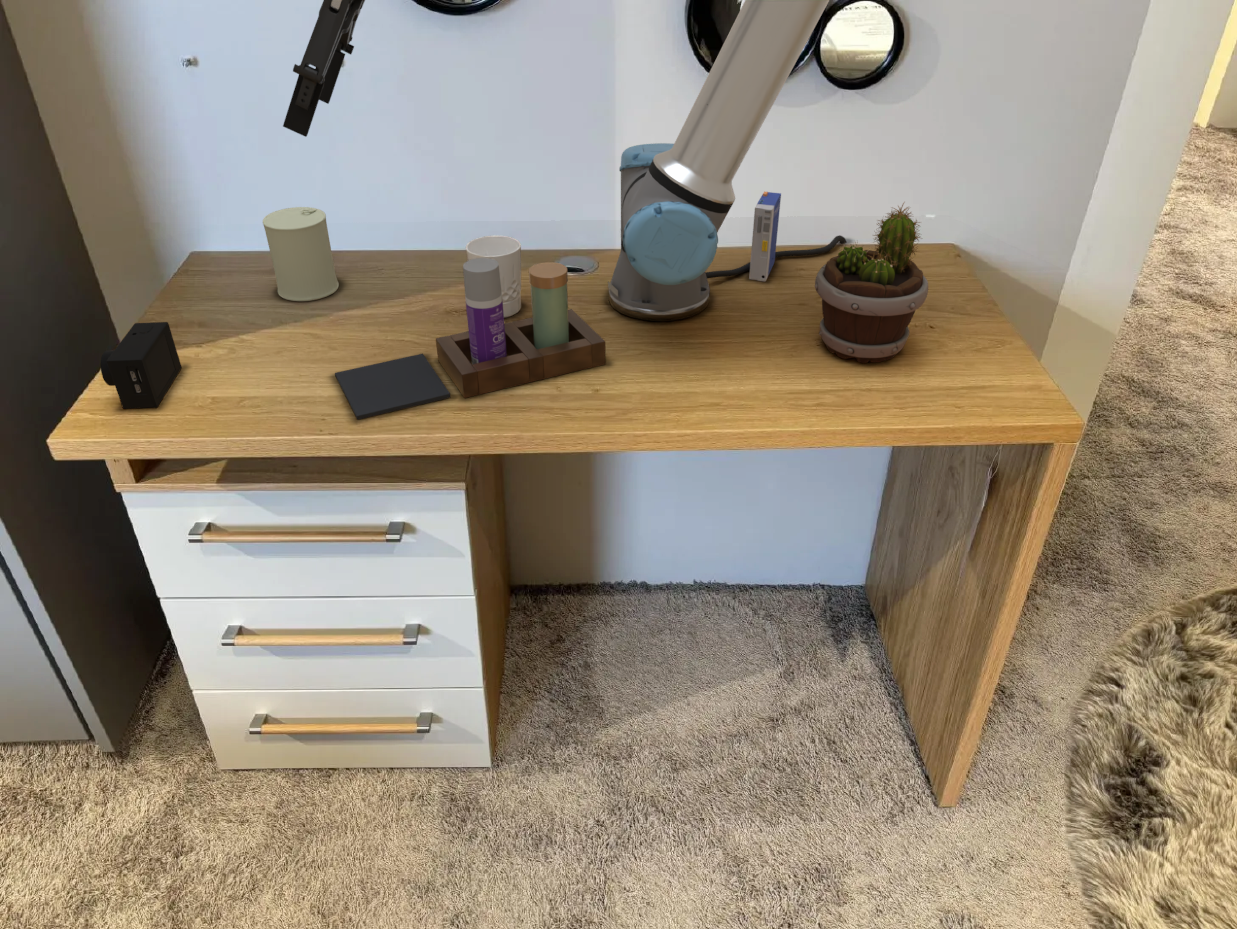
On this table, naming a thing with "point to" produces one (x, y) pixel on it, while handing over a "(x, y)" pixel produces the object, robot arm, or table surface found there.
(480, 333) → the container
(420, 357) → the mat
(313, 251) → the can
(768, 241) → the walkman
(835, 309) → the flowerpot
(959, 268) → the table surface
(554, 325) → the spice jar
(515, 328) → the bottle rack
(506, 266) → the white cup
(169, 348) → the digital camera
